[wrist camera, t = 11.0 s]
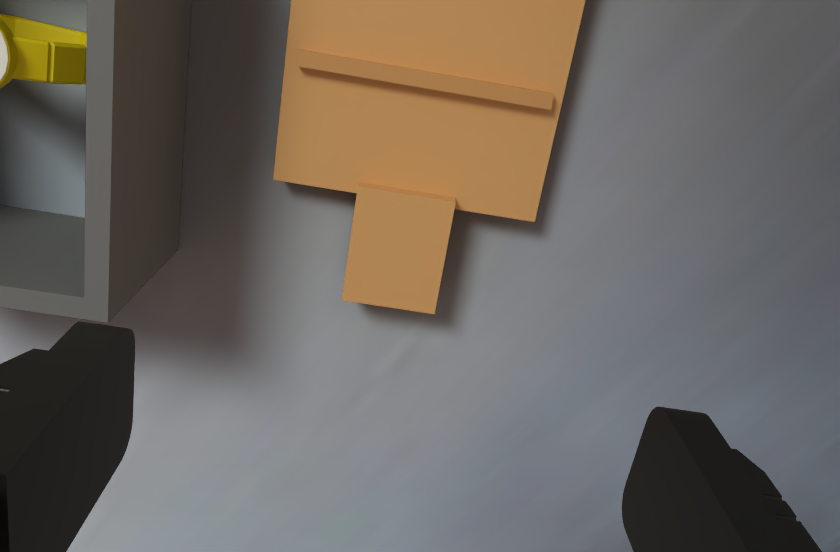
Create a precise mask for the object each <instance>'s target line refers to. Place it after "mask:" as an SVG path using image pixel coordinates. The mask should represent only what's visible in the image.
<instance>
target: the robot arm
mask: <svg viewBox="0 0 840 552" xmlns="http://www.w3.org/2000/svg"><path fill="white" fill-rule="evenodd" d="M134 363H135V338H134V334H133V331H132V330H131V329H128V328H121V327H114V326H107V325H100V324H93V323H86V322H77V323H76V324H75V325H73V326H72V327H71V328H70V329H69V330H68V331H67V332H66V334H65V335H64V336H63V337H62V338H61V339H60V340H59V341H58V342H57V343H56V344H55V345H54V346H53V347H52V348H51V349H50V350H49V351H47V350H40V349H32V350H30V351H28V352H26V353H23V354H21V355H19V356H17V357H15V358H12V359H10V360H8V361H6V362H4V363H2V364H0V552H66V551H67V549H68V548H69V546H70V545H71V543H72V541H73V540H74V538H75V536H76V535H77V533H78V531H79V530H80V528H81V526H82V525H83V523H84V521H85V520H86V518H87V516H88V515H89V513H90V512H91V510H92V508H93V507H94V505H95V503H96V502H97V500H98V498H99V497H100V495H101V493H102V492H103V490H104V488H105V487H106V485H107V484H108V482H109V480H110V479H111V477H112V475H113V474H114V472H115V470H116V469H117V467H118V465H119V464H120V462H121V460H122V458H123V456H124V454H125V451H126V449H127V445H128V442H129V438H130V434H131V429H132V421H133V395H134ZM622 517H623V523H624V528H625V531H626V533H627V536H628V538H629V541H630V543H631V546H632V549H633V551H634V552H822V551H821V550H820V548H819V547H818V546H817V544H816V543H815V542H814V540H813V539H812V537H811V536H810V535H809V533H808V532H807V530H806V529H805V528H804V526H803V525H802V523H801V522H799V521H796V515H795V514H794V512H793V511H792V510H791V508H790V507H789V505H788V504H787V503H786V501H782V496H781V494H780V493H779V492H778V490H777V489H776V487H775V486H774V485H773V483H772V482H771V480H770V479H769V478H768V476H767V475H766V473H765V472H764V471H763V470H761V469H760V468H759V467H758V466H756V465H755V464H754V463H753V462H751V461H750V460H749V459H748V458H747V457H745V456H744V455H743V454H742V453H740V452H739V451H738V450H737V449H731V448H730V446H729V445H728V443H727V442H726V441H725V439H724V438H723V436H722V435H721V433H720V432H719V430H718V429H717V427H716V426H715V424H714V423H713V422H712V420H711V419H710V417H709V416H708V415H706V414H704V413H699V412H692V411H686V410H679V409H672V408H665V407H656V408H654V409H653V410H652V411H651V413H650V414H649V416H648V419H647V421H646V424H645V427H644V430H643V433H642V436H641V439H640V442H639V445H638V448H637V451H636V454H635V457H634V461H633V464H632V467H631V470H630V473H629V476H628V479H627V482H626V485H625V488H624V493H623V500H622Z"/></svg>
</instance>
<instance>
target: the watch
mask: <svg viewBox="0 0 840 552" xmlns="http://www.w3.org/2000/svg"><path fill="white" fill-rule="evenodd" d="M86 51H87V33H86V32H81V31H76V30H72V29H67V28H63V27H59V26H54V25H50V24H46V23H41V22H37V21H33V20H28V19H24V18H22V17H19V16H17V17H15V16H11V15H4V14H0V89H1V88H2V87H4V86H5V85H6V84H8V83H9V82H10V81H11V80H12V79H19V80H27V81H35V82H42V83H46V82H49V83H55V84H86Z"/></svg>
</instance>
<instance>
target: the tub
mask: <svg viewBox="0 0 840 552" xmlns="http://www.w3.org/2000/svg"><path fill="white" fill-rule="evenodd" d="M191 1H192V0H87V51H86V163H85V218H81V217H74V216H67V215H61V214H54V213H48V212H41V211H35V210H28V209H22V208H15V207H9V206H2V205H0V307H2V308H9V309H16V310H23V311H30V312H37V313H44V314H51V315H58V316H65V317H72V318H79V319H85V320H92V321H99V322H106V323H108V322H109V321H110V320H111V319H112V318H113V317H114V316H115V315H116V314H117V313H118V312H119V311H120V310H121V308H122V307H123V306H124V305H125V304H126V303H127V302H128V301H129V300H130V299H131V298H132V297H133V296H134V295H135V294H136V293H137V292H138V291H139V290H140V289H141V288H142V287H143V285H144V284H145V283H146V282H147V281H148V280H149V279H150V278H151V277H152V276H153V275H154V274H155V273H156V272H157V271H158V270H159V269H160V268H161V267H162V266H163V265H164V264H165V263H166V261H167V260H168V259H169V258H170V257H171V256H172V255H173V254H174V253H175V252H176V251H177V250H178V238H179V220H180V202H181V184H182V165H183V147H184V129H185V111H186V92H187V74H188V56H189V38H190V19H191Z"/></svg>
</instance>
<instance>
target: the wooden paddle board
mask: <svg viewBox="0 0 840 552" xmlns="http://www.w3.org/2000/svg"><path fill="white" fill-rule="evenodd" d="M584 5H585V0H291V7H290V17H289V27H288V37H287V47H286V56H285V66H284V76H283V86H282V96H281V106H280V116H279V126H278V136H277V146H276V156H275V165H274V175H273V180H278V181H284V182H290V183H296V184H302V185H308V186H315V187H321V188H327V189H333V190H339V191H346V192H352V193H357V195H356V202H355V209H354V217H353V224H352V231H351V238H350V245H349V252H348V259H347V266H346V273H345V280H344V287H343V294H342V300H344V301H350V302H357V303H363V304H370V305H376V306H383V307H390V308H396V309H403V310H409V311H416V312H422V313H429V314H435V309H436V304H437V299H438V293H439V288H440V283H441V278H442V272H443V267H444V262H445V256H446V251H447V246H448V241H449V235H450V230H451V225H452V220H453V214H454V209H457V210H463V211H469V212H475V213H482V214H488V215H494V216H500V217H506V218H513V219H519V220H525V221H531V222H535V218H536V214H537V209H538V205H539V201H540V196H541V192H542V188H543V183H544V179H545V175H546V170H547V166H548V161H549V157H550V153H551V148H552V144H553V140H554V135H555V131H556V127H557V122H558V118H559V114H560V109H561V105H562V101H563V96H564V92H565V87H566V83H567V79H568V74H569V70H570V66H571V61H572V57H573V53H574V48H575V44H576V40H577V35H578V31H579V27H580V22H581V18H582V13H583V9H584Z"/></svg>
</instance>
